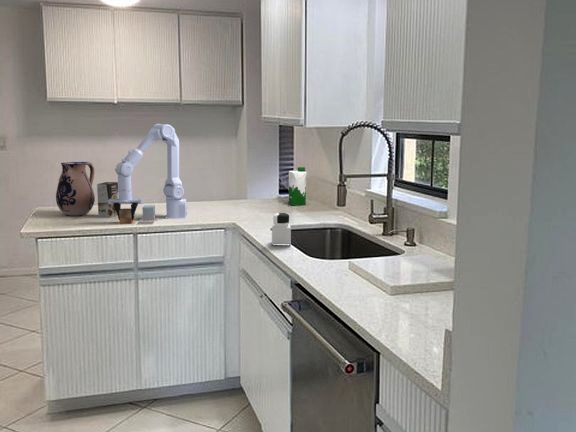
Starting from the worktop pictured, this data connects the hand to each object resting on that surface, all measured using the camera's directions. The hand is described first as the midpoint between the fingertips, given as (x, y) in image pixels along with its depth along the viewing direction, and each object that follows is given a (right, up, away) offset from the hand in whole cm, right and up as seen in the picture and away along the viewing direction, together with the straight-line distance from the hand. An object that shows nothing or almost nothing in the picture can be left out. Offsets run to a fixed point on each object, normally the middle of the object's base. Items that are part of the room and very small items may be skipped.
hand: (126, 219), depth 265 cm
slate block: (+8, 0, +8) cm, 12 cm away
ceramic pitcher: (-29, +2, +22) cm, 37 cm away
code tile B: (+8, 0, +9) cm, 12 cm away
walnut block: (0, -1, 0) cm, 1 cm away
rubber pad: (+9, -2, 0) cm, 9 cm away
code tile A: (0, -2, 0) cm, 2 cm away
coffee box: (-13, +1, +16) cm, 20 cm away
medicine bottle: (+70, -9, -37) cm, 79 cm away
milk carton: (+77, +7, +53) cm, 94 cm away
